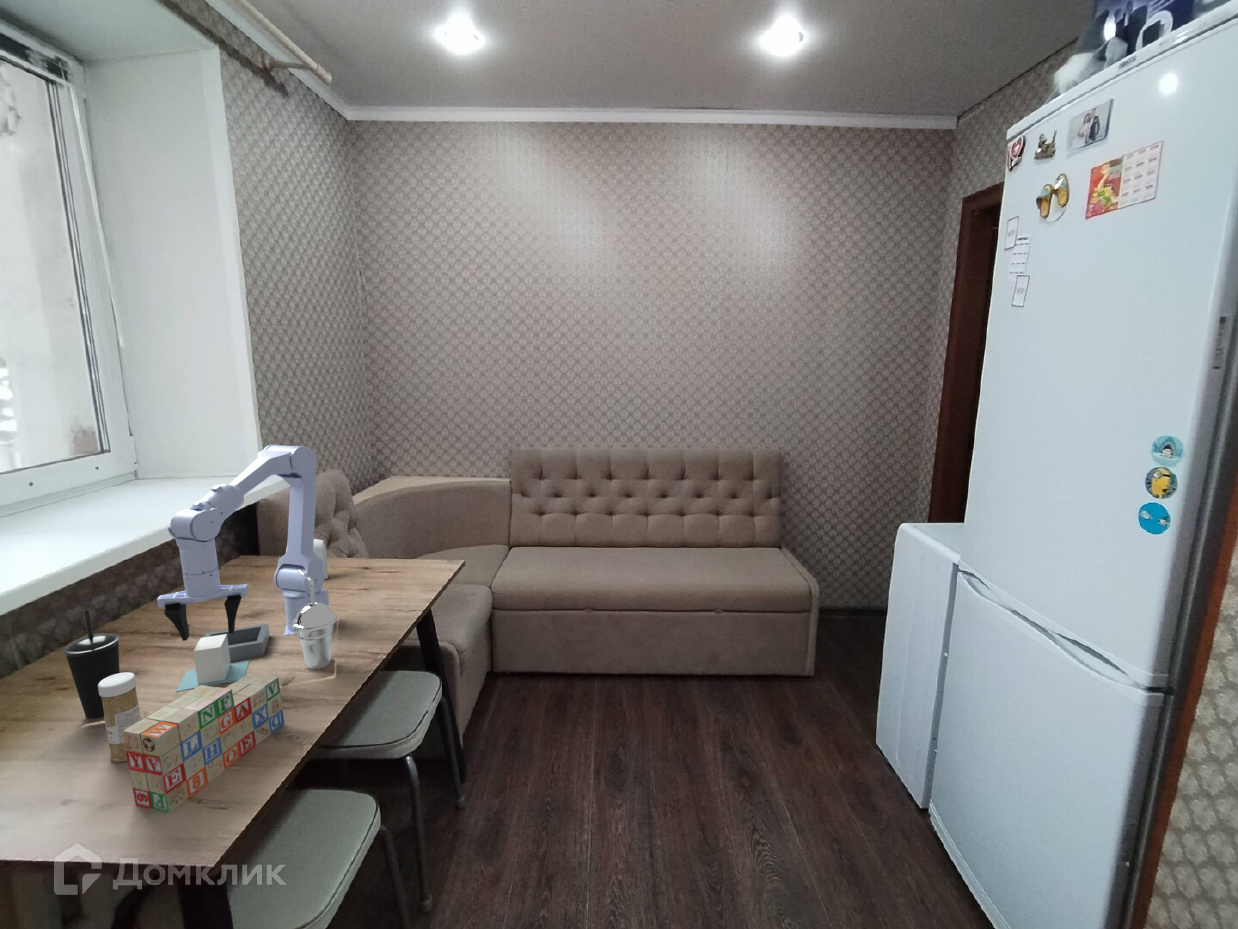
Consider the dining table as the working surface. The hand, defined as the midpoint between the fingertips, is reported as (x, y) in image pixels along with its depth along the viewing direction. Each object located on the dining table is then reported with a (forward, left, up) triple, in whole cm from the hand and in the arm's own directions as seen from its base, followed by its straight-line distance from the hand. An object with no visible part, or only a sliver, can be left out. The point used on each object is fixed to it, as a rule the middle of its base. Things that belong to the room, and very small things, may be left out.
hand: (209, 635), depth 118 cm
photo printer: (-14, -52, -10) cm, 55 cm away
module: (0, 0, -9) cm, 9 cm away
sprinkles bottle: (+8, +22, -10) cm, 25 cm away
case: (-2, -10, -9) cm, 14 cm away
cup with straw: (-19, +3, -10) cm, 21 cm away
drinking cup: (+16, +6, -10) cm, 20 cm away
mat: (0, 0, -9) cm, 9 cm away
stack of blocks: (-5, +30, -10) cm, 32 cm away
